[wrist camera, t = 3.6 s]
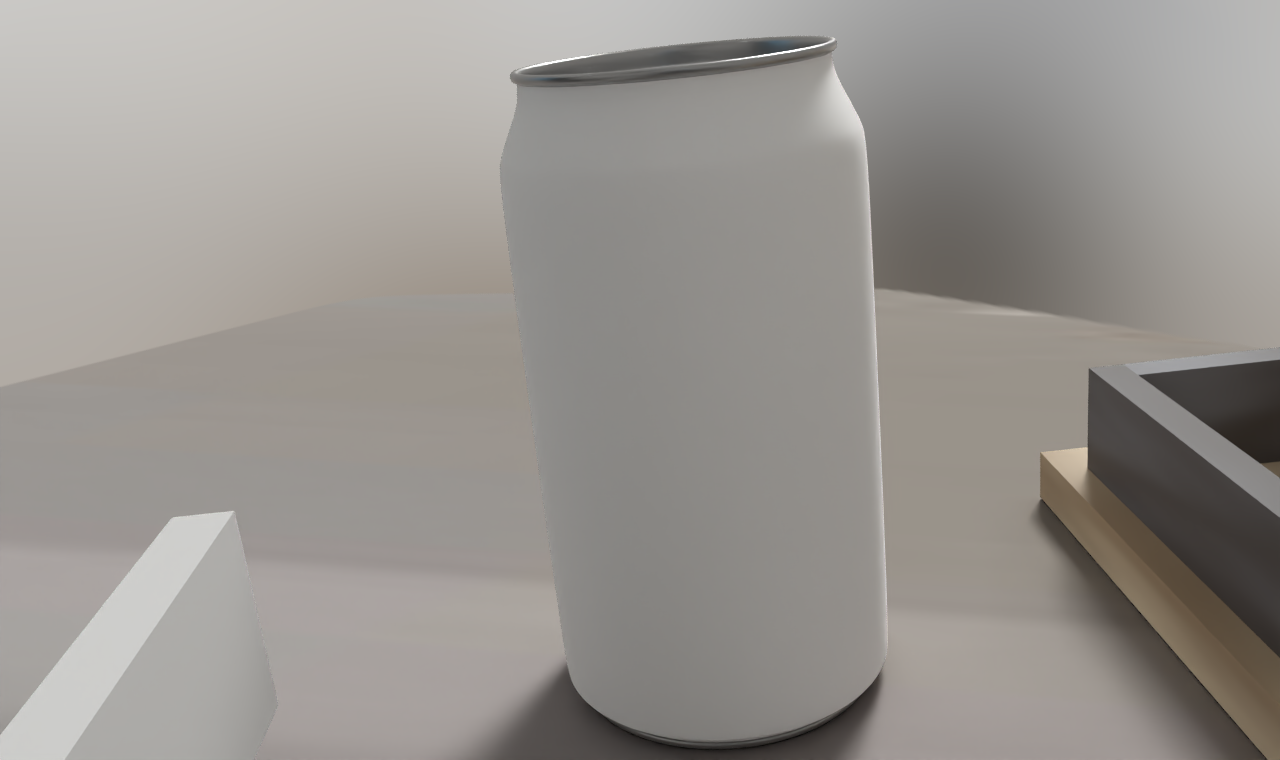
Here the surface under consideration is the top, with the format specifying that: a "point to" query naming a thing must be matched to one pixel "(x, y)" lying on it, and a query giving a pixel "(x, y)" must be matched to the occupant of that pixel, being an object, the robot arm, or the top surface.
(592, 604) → the can
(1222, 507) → the seat block
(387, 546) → the top surface
